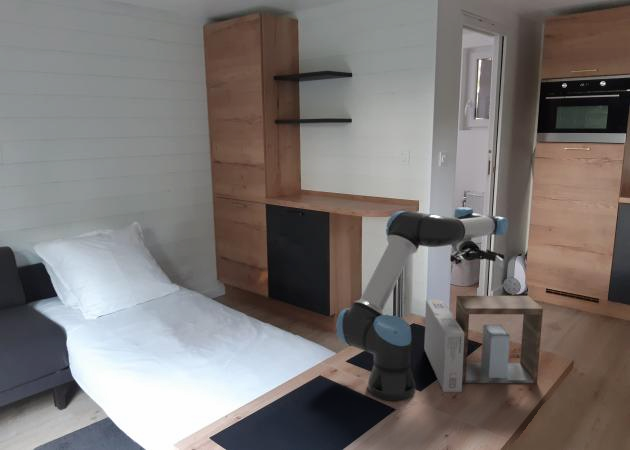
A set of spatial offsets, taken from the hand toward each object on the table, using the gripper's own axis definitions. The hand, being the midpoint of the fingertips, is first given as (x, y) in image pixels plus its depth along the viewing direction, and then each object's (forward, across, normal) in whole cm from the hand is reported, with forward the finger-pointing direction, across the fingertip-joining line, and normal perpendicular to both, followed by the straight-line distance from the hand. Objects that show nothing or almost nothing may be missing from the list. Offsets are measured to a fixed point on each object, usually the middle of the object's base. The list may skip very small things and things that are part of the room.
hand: (483, 263), depth 179 cm
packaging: (+15, +17, -34) cm, 41 cm away
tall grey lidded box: (+18, 0, -33) cm, 38 cm away
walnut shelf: (+18, 0, -34) cm, 39 cm away
